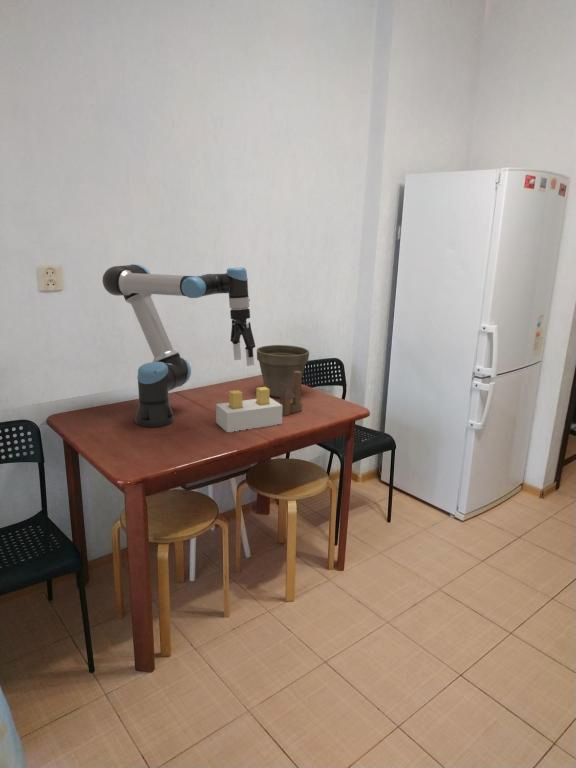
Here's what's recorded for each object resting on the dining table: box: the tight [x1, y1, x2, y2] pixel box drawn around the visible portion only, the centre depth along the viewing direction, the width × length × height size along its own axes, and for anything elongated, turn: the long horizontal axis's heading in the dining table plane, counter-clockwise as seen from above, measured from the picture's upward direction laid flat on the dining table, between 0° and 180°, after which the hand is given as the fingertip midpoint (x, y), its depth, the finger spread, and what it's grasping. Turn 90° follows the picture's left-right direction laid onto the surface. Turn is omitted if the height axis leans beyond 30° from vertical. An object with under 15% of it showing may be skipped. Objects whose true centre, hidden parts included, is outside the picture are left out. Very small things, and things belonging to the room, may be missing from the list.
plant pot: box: [256, 344, 310, 398], centre depth 257 cm, size 25×25×22 cm
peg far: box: [255, 386, 270, 405], centre depth 219 cm, size 4×4×8 cm
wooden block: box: [278, 371, 303, 417], centre depth 231 cm, size 4×11×18 cm, turn 135°
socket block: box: [215, 396, 283, 434], centre depth 218 cm, size 24×12×8 cm, turn 118°
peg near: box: [228, 389, 243, 409], centre depth 213 cm, size 4×4×8 cm
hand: (244, 362), depth 211 cm, fingers open, 13 cm apart
